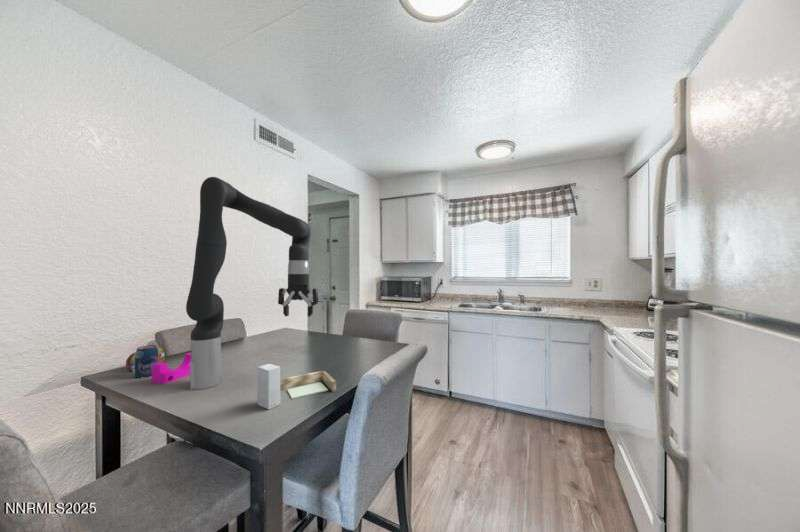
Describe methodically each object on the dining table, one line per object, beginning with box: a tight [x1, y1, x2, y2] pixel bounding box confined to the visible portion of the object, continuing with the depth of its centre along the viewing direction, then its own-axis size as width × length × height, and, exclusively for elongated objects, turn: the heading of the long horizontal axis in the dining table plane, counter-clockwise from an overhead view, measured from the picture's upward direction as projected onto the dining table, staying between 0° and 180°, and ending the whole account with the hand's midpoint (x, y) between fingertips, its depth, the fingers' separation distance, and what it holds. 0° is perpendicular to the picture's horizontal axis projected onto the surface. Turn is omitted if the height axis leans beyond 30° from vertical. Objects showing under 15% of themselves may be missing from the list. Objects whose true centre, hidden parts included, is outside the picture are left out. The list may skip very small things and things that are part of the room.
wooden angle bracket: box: [280, 370, 337, 393], centre depth 102 cm, size 16×13×4 cm
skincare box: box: [257, 363, 281, 410], centre depth 91 cm, size 6×4×12 cm
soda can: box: [134, 344, 158, 379], centre depth 115 cm, size 7×7×12 cm
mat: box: [286, 381, 329, 400], centre depth 102 cm, size 12×8×1 cm, turn 122°
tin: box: [125, 346, 167, 372], centre depth 124 cm, size 15×3×8 cm, turn 169°
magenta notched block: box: [151, 352, 191, 384], centre depth 114 cm, size 15×6×8 cm, turn 166°
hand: (298, 316), depth 109 cm, fingers open, 8 cm apart
